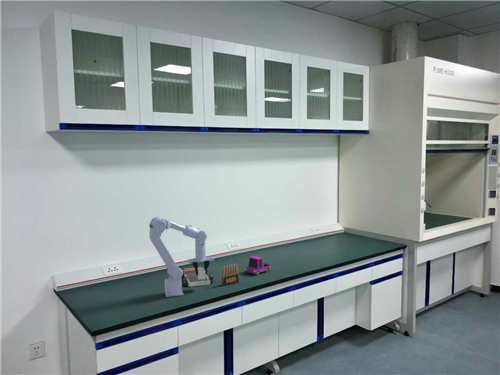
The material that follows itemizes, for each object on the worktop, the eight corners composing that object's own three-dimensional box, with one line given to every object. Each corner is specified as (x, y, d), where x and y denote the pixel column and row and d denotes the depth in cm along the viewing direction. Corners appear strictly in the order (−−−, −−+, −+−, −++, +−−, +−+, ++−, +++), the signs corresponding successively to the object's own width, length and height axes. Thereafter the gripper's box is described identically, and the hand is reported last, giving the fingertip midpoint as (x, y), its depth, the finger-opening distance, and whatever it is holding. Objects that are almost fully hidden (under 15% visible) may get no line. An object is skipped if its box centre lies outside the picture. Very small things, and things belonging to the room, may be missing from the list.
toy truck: (244, 273, 263) (243, 257, 262) (260, 267, 274) (260, 253, 273) (256, 276, 255) (256, 260, 254) (272, 270, 267) (272, 255, 266)
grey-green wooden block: (198, 279, 230) (198, 270, 229) (197, 276, 235) (196, 268, 234) (205, 278, 231) (205, 270, 230) (203, 276, 236) (203, 267, 235)
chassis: (185, 287, 236) (185, 279, 235) (179, 275, 259) (179, 267, 259) (213, 284, 241) (213, 276, 240) (205, 272, 264) (205, 264, 264)
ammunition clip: (237, 281, 246) (236, 262, 244) (238, 282, 244) (238, 262, 243) (221, 285, 240) (221, 265, 238) (223, 286, 238) (223, 265, 237)
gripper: (188, 253, 226) (189, 277, 227) (214, 251, 230) (214, 275, 231) (186, 250, 232) (187, 274, 234) (212, 248, 236) (212, 271, 238)
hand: (201, 274), depth 233 cm, fingers closed on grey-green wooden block, 4 cm apart
